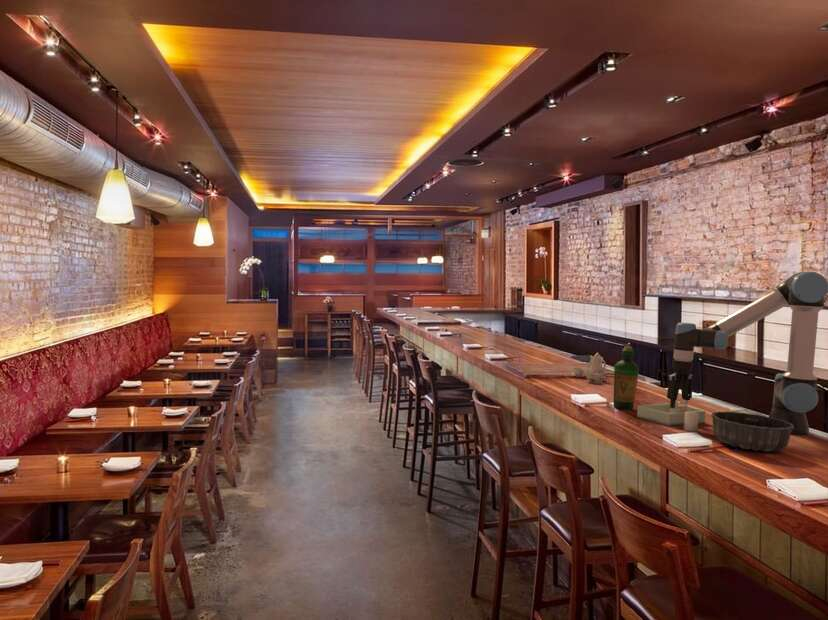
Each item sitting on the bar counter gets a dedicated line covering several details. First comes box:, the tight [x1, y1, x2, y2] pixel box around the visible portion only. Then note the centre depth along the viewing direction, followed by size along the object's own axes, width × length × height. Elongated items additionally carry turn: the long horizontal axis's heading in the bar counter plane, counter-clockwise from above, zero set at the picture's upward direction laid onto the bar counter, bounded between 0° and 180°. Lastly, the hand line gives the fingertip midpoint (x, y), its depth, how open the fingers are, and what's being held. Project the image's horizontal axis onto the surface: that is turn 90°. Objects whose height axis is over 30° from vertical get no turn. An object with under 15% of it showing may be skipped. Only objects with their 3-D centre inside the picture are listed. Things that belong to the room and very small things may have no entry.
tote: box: [636, 402, 706, 427], centre depth 257 cm, size 16×22×5 cm
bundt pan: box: [711, 411, 794, 453], centre depth 221 cm, size 26×26×10 cm
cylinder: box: [683, 411, 699, 433], centre depth 241 cm, size 5×5×7 cm
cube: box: [668, 402, 689, 413], centre depth 254 cm, size 5×5×5 cm
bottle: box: [613, 346, 640, 411], centre depth 275 cm, size 11×11×28 cm
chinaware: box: [571, 352, 607, 384], centre depth 352 cm, size 28×17×17 cm, turn 16°
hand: (677, 415), depth 254 cm, fingers closed on cube, 5 cm apart
